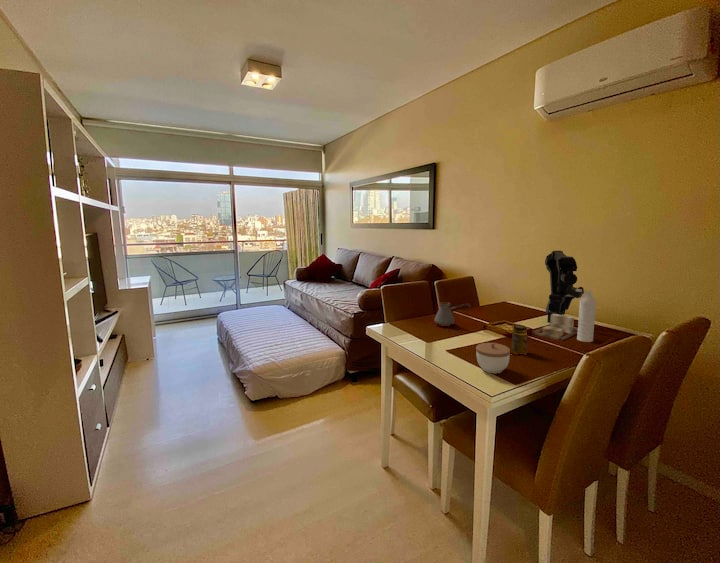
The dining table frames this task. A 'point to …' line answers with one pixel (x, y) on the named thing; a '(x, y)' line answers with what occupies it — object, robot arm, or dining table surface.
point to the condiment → (519, 339)
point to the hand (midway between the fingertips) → (562, 311)
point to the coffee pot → (446, 313)
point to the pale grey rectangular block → (562, 322)
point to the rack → (554, 336)
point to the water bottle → (586, 317)
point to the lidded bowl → (492, 357)
